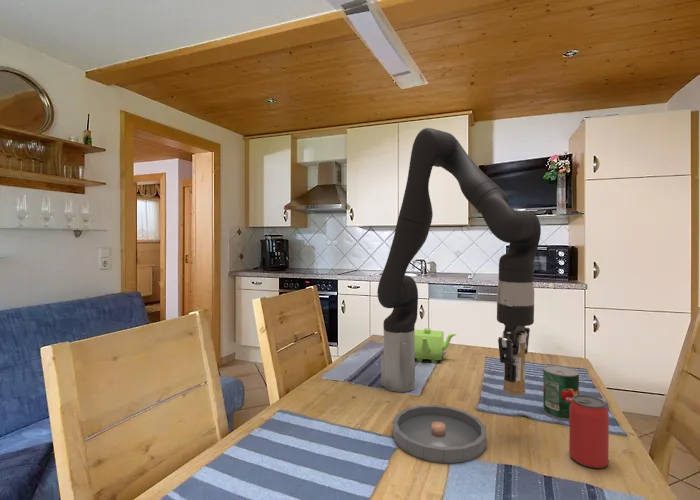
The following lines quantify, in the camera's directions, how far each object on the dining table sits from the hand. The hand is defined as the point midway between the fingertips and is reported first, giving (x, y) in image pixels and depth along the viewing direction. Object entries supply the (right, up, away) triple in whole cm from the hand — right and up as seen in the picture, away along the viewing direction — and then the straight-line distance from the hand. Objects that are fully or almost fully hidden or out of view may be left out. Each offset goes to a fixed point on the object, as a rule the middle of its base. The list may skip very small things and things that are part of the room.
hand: (513, 377), depth 85 cm
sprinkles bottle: (0, -3, 0) cm, 3 cm away
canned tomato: (+17, -13, +11) cm, 24 cm away
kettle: (-8, -12, +55) cm, 57 cm away
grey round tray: (-17, -13, 0) cm, 21 cm away
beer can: (+11, -14, -9) cm, 20 cm away
